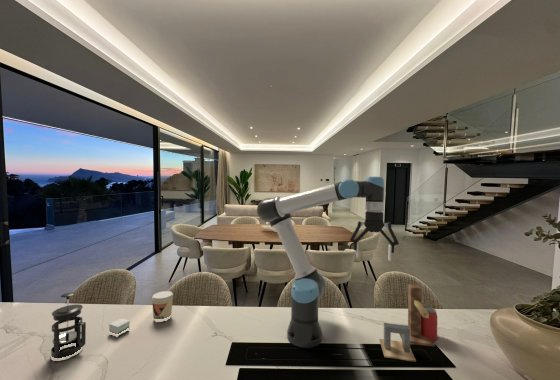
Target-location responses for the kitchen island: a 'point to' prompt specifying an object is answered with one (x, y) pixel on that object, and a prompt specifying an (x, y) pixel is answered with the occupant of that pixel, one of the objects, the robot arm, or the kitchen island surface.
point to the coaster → (397, 351)
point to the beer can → (429, 324)
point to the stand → (416, 317)
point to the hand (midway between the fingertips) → (373, 258)
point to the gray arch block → (401, 330)
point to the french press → (69, 337)
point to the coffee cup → (162, 304)
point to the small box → (119, 326)
